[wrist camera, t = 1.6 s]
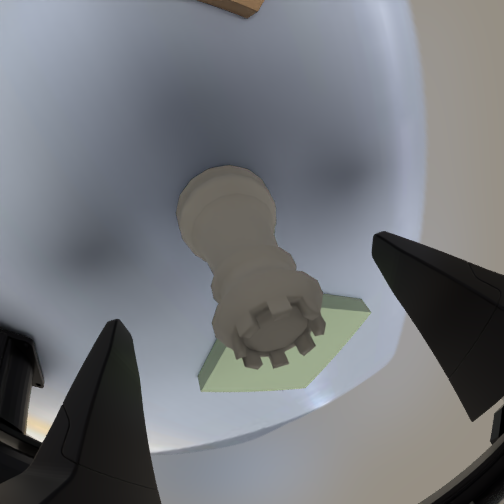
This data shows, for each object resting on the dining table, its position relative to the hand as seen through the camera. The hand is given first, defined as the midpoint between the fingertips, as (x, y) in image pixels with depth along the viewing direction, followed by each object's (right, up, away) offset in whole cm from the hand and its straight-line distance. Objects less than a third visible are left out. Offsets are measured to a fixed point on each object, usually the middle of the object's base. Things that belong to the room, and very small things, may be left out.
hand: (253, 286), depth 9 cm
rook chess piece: (-1, +3, +5) cm, 6 cm away
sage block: (+2, -5, +12) cm, 14 cm away
